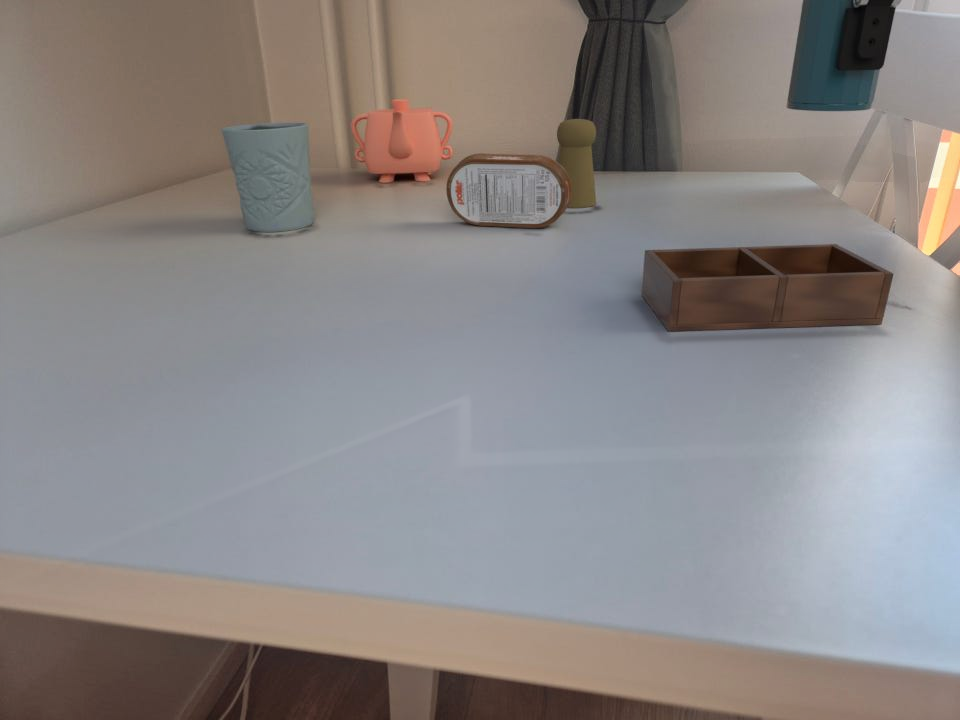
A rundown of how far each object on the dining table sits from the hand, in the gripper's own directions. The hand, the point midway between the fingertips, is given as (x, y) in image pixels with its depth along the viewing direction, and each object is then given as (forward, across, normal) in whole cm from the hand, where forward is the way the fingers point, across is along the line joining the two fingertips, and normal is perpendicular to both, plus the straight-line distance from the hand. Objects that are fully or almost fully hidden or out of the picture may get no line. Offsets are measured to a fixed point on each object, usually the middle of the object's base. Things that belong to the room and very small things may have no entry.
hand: (835, 66), depth 52 cm
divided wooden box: (+18, -5, +6) cm, 19 cm away
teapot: (+18, +63, +40) cm, 77 cm away
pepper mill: (+18, +38, +14) cm, 44 cm away
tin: (+18, +26, +24) cm, 40 cm away
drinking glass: (+18, +30, +53) cm, 64 cm away
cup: (+3, 0, 0) cm, 3 cm away
